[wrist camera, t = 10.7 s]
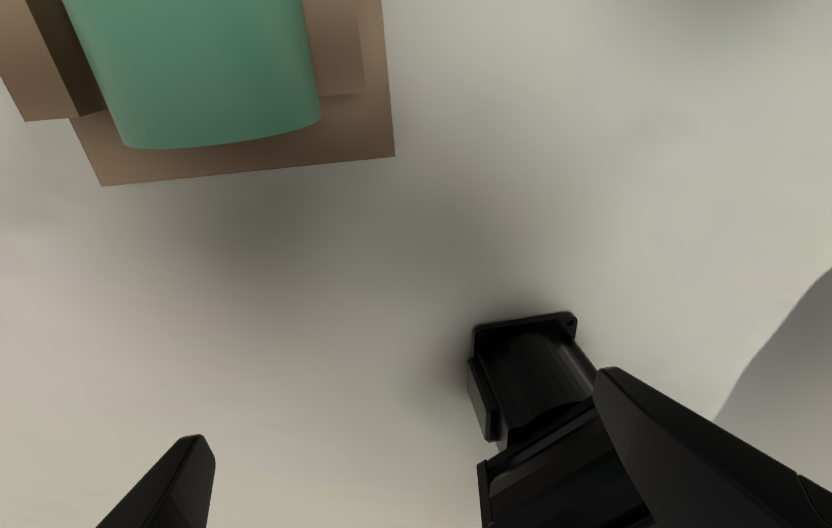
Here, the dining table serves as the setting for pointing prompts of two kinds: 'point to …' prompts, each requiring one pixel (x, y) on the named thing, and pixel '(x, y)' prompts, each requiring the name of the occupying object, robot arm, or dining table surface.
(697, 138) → the dining table surface
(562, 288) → the dining table surface
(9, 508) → the dining table surface
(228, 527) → the dining table surface
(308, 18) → the bottle rest
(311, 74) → the small bottle
